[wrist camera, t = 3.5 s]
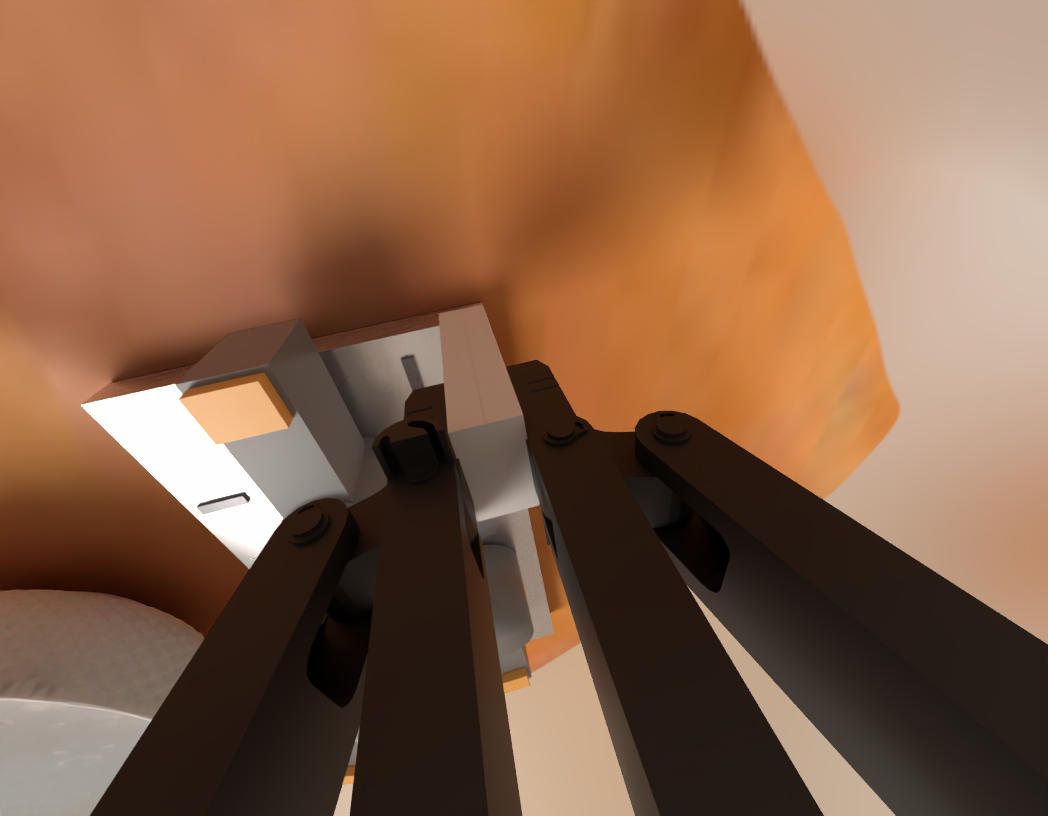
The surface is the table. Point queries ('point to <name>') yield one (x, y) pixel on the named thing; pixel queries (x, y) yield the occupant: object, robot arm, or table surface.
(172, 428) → the level plate
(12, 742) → the cereal bowl
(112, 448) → the table surface
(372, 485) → the knob
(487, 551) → the knob
